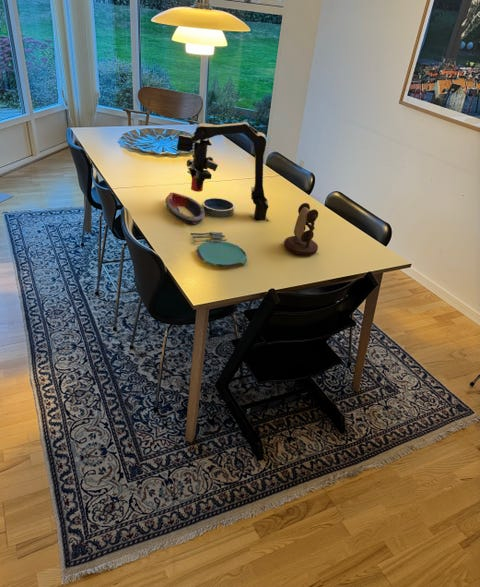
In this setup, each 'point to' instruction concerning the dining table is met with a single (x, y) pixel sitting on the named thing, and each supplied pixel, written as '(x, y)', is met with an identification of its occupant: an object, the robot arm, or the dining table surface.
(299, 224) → the brown upright piece
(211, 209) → the bowl
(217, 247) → the cutlery set
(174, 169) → the dining table surface
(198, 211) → the dish
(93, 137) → the dining table surface
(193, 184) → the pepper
